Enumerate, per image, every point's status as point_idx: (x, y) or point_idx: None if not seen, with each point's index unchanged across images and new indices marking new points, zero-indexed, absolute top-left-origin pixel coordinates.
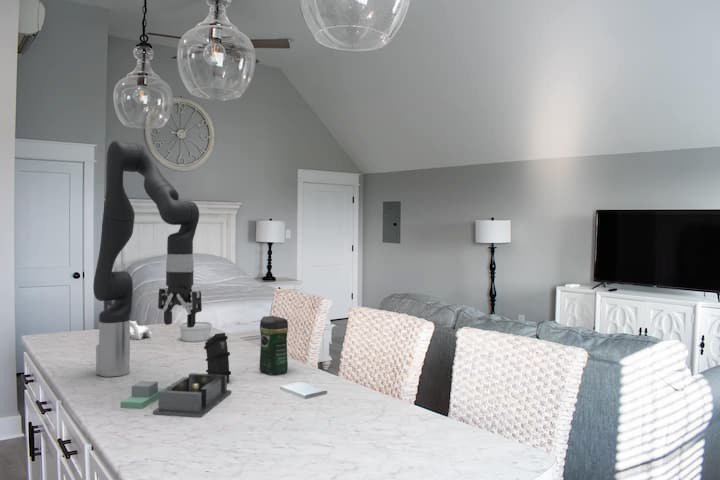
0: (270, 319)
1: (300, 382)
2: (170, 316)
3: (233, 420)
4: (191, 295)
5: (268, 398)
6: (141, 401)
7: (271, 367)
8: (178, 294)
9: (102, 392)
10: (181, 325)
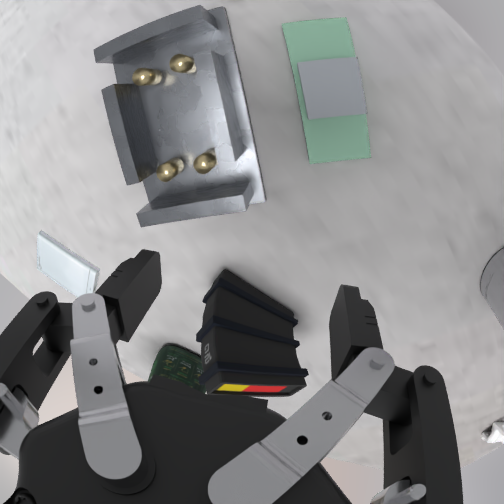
0: None
1: None
2: (335, 346)
3: (59, 74)
4: (19, 421)
5: (79, 211)
6: (291, 32)
7: (166, 354)
8: (99, 464)
9: (469, 127)
10: None
